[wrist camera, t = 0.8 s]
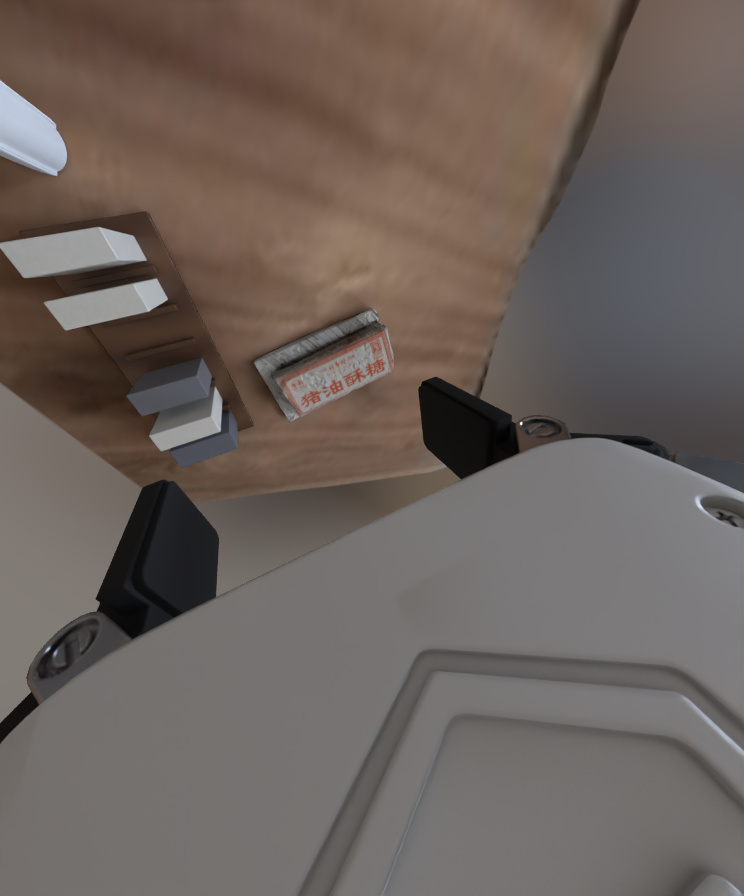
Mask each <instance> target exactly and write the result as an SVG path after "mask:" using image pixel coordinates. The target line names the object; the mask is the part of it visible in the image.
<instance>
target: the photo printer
mask: <svg viewBox="0 0 744 896" xmlns="http://www.w3.org/2000/svg"><path fill="white" fill-rule="evenodd" d="M0 156H2V157H4V158H7V159H9V160H11V161H14V162H16V163H19V164H21V165H23V166H26V167H28V168H31V169H34V170H36V171H39V172H42V173H46V174H49V175H54V176H57V171H60V170H62V169H63V168H64V166H65V164H66V161H67V152H66V147H65V144H64V142H63V140H62V138H61V136H60V134H59V133H58V132H57V130H56V124H55V123H54V122H53V121H52V120H51V119H50V118H49V117H47V116H46V115H45V114H43V113H42V112H41V111H39V110H38V109H37V108H36V107H34V106H33V105H32V104H30V103H29V102H28V101H26V100H25V99H24V98H22V97H21V96H20V95H19V94H17V93H16V92H15V91H13V90H12V89H11V88H9V87H8V86H7V85H6V84H4V83H3V82H2V81H0Z"/></svg>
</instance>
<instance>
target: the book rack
mask: <svg viewBox="0 0 744 896" xmlns="http://www.w3.org/2000/svg"><path fill="white" fill-rule="evenodd" d="M94 227H101V228H105V229H109V230H112V231H116V232H120V233H124V234H128V235H132V236H134V237H135V239H136V241H137V243H138V245H139V247H140V248H141V250H142V252H143V254H144V256H145V258H146V260H147V261H143V262H138V263H132V264H127V265H122V266H117V267H112V268H106V269H101V270H96V271H91V272H85V273H80V274H70V275H59V276H52V277H53V278H54V280H55V281H56V283H57V284H58V285H59V287H60V288H61V289H62V291H63V292H64V293H65V295H66V296H67V297H69V296H73V295H78V294H83V293H87V292H92V291H97V290H102V289H106V288H111V287H116V286H121V285H126V284H131V283H136V282H140V281H145V280H150V279H155V278H157V280H158V282H159V283H160V285H161V287H162V289H163V291H164V293H165V295H166V296H167V298H168V300H167V301H165V302H164V303H162V304H160V305H159V306H157V307H155V308H154V309H152V310H150V311H149V312H145V313H140V314H136V315H132V316H127V317H123V318H118V319H114V320H110V321H105V322H101V323H97V324H92V325H88V326H89V327H90V329H91V330H92V331H93V333H94V334H95V335H96V337H97V338H98V340H99V341H100V342H101V344H102V345H103V346H104V348H105V349H106V350H107V352H108V353H109V355H110V356H111V357H112V359H113V360H114V361H115V363H116V364H117V365H118V367H119V368H120V369H121V371H122V372H123V374H124V375H125V376H126V378H127V379H128V380H129V382H130V383H131V384H132V386H134V385H135V383H136V382H137V381H138V380H139V378H140V377H141V376H142V375H143V373H146V372H150V371H154V370H157V369H161V368H165V367H168V366H172V365H176V364H179V363H183V362H187V361H190V360H194V359H198V358H201V357H202V358H203V360H204V362H205V364H206V366H207V367H208V369H209V371H210V373H211V375H212V378H211V384H210V388H211V387H214V386H215V387H216V389H217V390H218V392H219V394H220V396H221V398H222V412H223V411H226V410H229V409H230V410H231V412H232V414H233V416H234V418H235V419H236V421H237V431H240V430H243V429H246V428H249V427H252V426H253V422H252V420H251V418H250V416H249V414H248V412H247V410H246V408H245V406H244V404H243V402H242V400H241V398H240V395H239V393H238V391H237V389H236V387H235V385H234V383H233V381H232V379H231V377H230V375H229V373H228V371H227V369H226V367H225V365H224V363H223V361H222V359H221V357H220V355H219V353H218V351H217V349H216V347H215V345H214V343H213V341H212V339H211V337H210V335H209V333H208V331H207V329H206V327H205V325H204V323H203V321H202V319H201V317H200V315H199V313H198V311H197V309H196V307H195V305H194V303H193V301H192V299H191V297H190V295H189V293H188V291H187V289H186V287H185V285H184V283H183V281H182V279H181V277H180V275H179V273H178V271H177V269H176V267H175V265H174V263H173V261H172V259H171V257H170V255H169V253H168V251H167V249H166V247H165V244H164V242H163V240H162V238H161V236H160V234H159V232H158V230H157V228H156V226H155V224H154V222H153V220H152V218H151V216H150V214H149V213H148V212H140V213H134V214H128V215H121V216H115V217H108V218H102V219H96V220H89V221H83V222H76V223H70V224H64V225H57V226H51V227H44V228H38V229H32V230H25V231H20V234H21V235H22V236H23V238H24V239H26V238H33V237H39V236H45V235H51V234H57V233H64V232H70V231H76V230H82V229H88V228H94ZM159 413H160V411H159V412H156V413H153V414H154V416H155V417H156V418H158V415H159Z"/></svg>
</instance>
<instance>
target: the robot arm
mask: <svg viewBox="0 0 744 896" xmlns="http://www.w3.org/2000/svg"><path fill="white" fill-rule="evenodd" d="M418 391H419V401H420V411H421V420H422V430H423V440H424V444H425V446H426V448H427V449H428V450H429V451H431V452H432V453H433V454H434V455H435V456H436V457H437V458H438V459H439V460H440V461H442V462H443V463H444V464H445V465H446V466H447V467H448V468H449V469H451V470H452V471H453V472H454V473H455V474H456V475H457V476H458V477H459V478H460V479H461V480H459V481H457V482H455V483H453V484H451V485H449V486H447V487H445V488H442V489H441V490H438V491H436V492H434V493H432V494H430V495H428V496H425V497H424V498H421V499H419V500H417V501H415V502H413V503H411V504H409V505H406V506H404V507H402V508H400V509H398V510H396V511H394V512H392V513H390V514H388V515H385V516H383V517H381V518H379V519H377V520H375V521H373V522H371V523H369V524H367V525H364V526H362V527H360V528H358V529H356V530H354V531H352V532H350V533H348V534H346V535H344V536H342V537H340V538H337V539H335V540H333V541H331V542H329V543H327V544H325V545H323V546H321V547H319V548H317V549H314V550H312V551H310V552H308V553H306V554H304V555H302V556H300V557H298V558H296V559H294V560H292V561H290V562H288V563H285V564H283V565H281V566H279V567H277V568H275V569H273V570H271V571H269V572H267V573H265V574H263V575H261V576H259V577H257V578H255V579H253V580H250V581H248V582H246V583H244V584H242V585H240V586H238V587H236V588H234V589H232V590H230V591H228V592H226V593H224V594H222V595H219V596H217V597H216V584H217V565H218V548H219V538H218V534H217V532H216V530H215V529H214V528H213V527H212V525H211V524H210V523H209V522H208V521H207V519H206V518H205V517H204V516H203V515H202V514H201V512H200V511H199V510H198V509H197V508H196V507H195V505H194V504H193V503H192V502H191V500H190V499H189V498H188V497H187V496H186V495H185V493H184V492H183V491H182V490H181V489H180V487H179V486H178V485H177V484H176V483H175V482H173V481H170V482H168V481H166V480H161V481H158V482H155V483H153V484H150V485H147V486H145V487H143V488H142V490H141V493H140V495H139V498H138V500H137V502H136V505H135V507H134V509H133V512H132V514H131V517H130V519H129V521H128V524H127V526H126V528H125V531H124V533H123V536H122V538H121V540H120V542H119V545H118V547H117V550H116V552H115V554H114V557H113V559H112V562H111V564H110V566H109V569H108V571H107V573H106V576H105V578H104V580H103V583H102V585H101V588H100V590H99V592H98V595H97V597H96V600H97V601H99V602H100V605H99V607H98V610H97V612H90V613H87V614H85V615H82V616H80V617H78V618H77V619H75V620H73V621H72V622H70V623H69V624H67V625H66V626H65V627H63V628H62V629H61V630H60V631H58V632H57V633H56V634H55V635H54V636H53V637H52V638H51V639H50V640H49V641H48V642H47V643H46V644H45V645H44V646H43V648H42V649H41V650H40V651H39V653H38V654H37V655H36V657H35V658H34V660H33V662H32V664H31V665H30V667H29V671H28V674H27V677H26V678H27V684H28V686H29V688H30V690H31V693H30V694H29V695H28V696H27V697H26V698H25V699H24V700H23V701H22V702H21V703H20V704H19V705H18V706H17V707H16V708H15V709H14V710H13V711H12V712H11V713H10V714H9V715H8V716H7V717H6V718H5V719H4V720H3V721H2V722H1V723H0V896H744V464H742V463H736V462H731V461H726V460H721V459H715V458H710V457H705V456H699V455H694V454H689V453H684V452H678V451H676V452H675V454H674V455H670V454H669V452H668V451H667V449H666V448H665V447H663V446H662V445H660V444H658V443H657V442H654V441H652V440H650V439H648V438H645V437H640V436H622V435H601V434H581V433H569V430H568V428H567V426H566V425H565V423H563V422H562V421H560V420H558V419H556V418H553V417H549V416H541V415H534V416H528V417H524V418H522V419H520V420H519V421H518V422H517V423H514V422H512V415H510V414H508V413H506V412H504V411H502V410H500V409H499V408H497V407H494V406H493V405H491V404H489V403H487V402H485V401H483V400H481V399H479V398H477V397H475V396H473V395H471V394H469V393H467V392H465V391H463V390H461V389H459V388H457V387H456V386H454V385H452V384H450V383H448V382H446V381H444V380H442V379H440V378H438V377H434V378H431V379H428V380H426V381H423V382H422V384H421V386H420V387H419V389H418Z"/></svg>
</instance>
